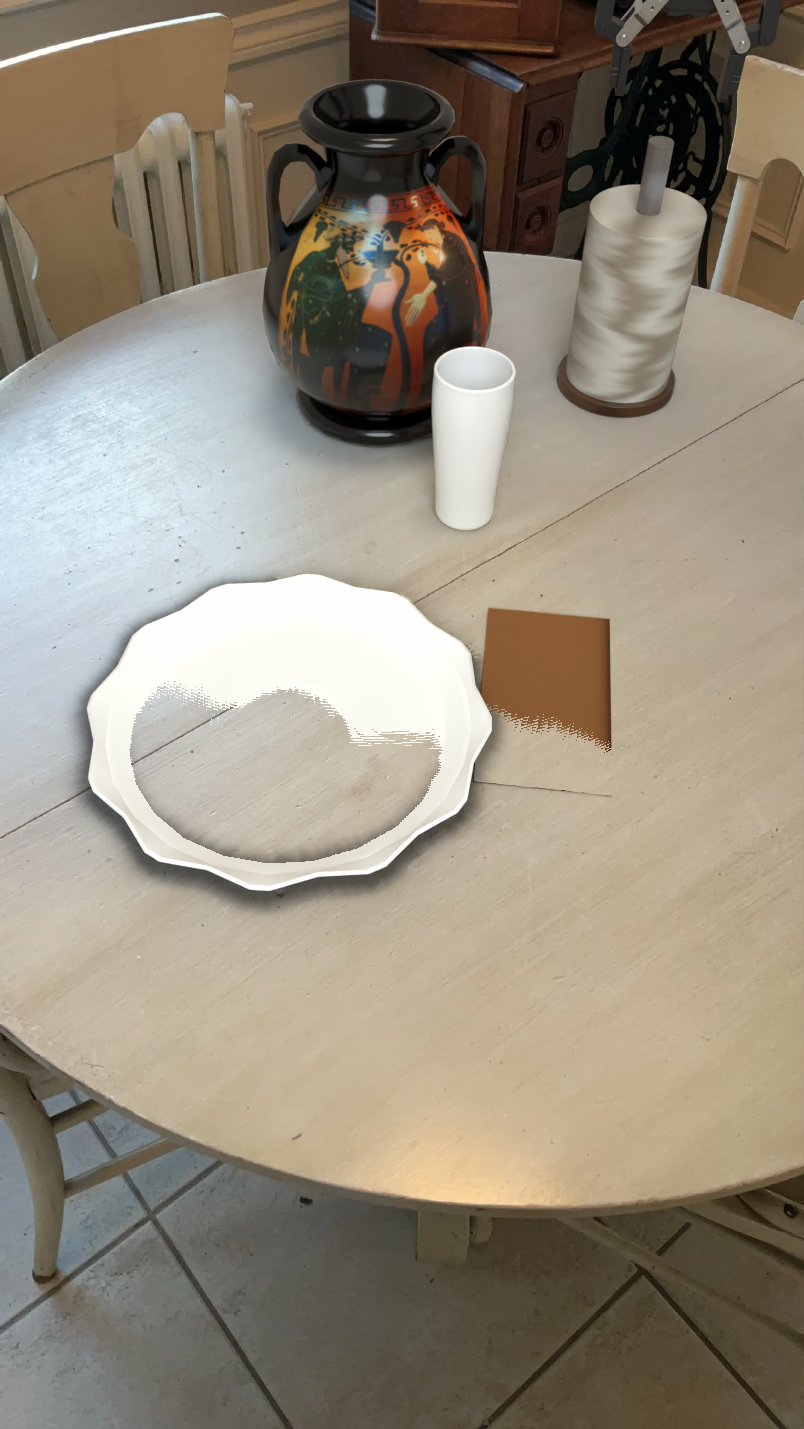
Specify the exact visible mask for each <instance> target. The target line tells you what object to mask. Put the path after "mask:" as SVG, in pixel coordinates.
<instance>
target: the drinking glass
mask: <svg viewBox="0 0 804 1429" xmlns="http://www.w3.org/2000/svg"><path fill="white" fill-rule="evenodd" d="M516 375H517V370H516V365H515V363H514V362H513V361H512V360H511V359H510V358H509V357H508V356H507V355H505V354H504V353H502V352H501V351H498V350H495V349H492V348H489V347H485V348H484V347H461V348H456V349H453V350H450V351H448V352H446V353H444V354H443V355H441V356H440V357H439V358H438V360H437V361H436V363H435V366H434V374H433V384H432V404H431V412H432V434H431V435H432V449H433V463H434V464H433V466H434V467H433V468H434V488H435V500H434V511H435V514H436V517H437V518H438V520H439V521H440V522H441V523H442V524H444V525H445V526H447V527H449V528H451V529H454V530H458V531H473V530H477V529H480V528H482V527H484V526H485V525H487V524H488V523H489V522H490V521H491V519H492V517H493V515H494V511H495V504H496V503H495V502H496V495H497V491H498V485H499V480H500V476H501V471H502V466H503V461H504V457H505V452H506V446H507V444H508V437H509V434H510V428H511V423H512V417H513V410H514V403H515V392H516V378H517V377H516Z"/></svg>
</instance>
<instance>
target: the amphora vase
mask: <svg viewBox="0 0 804 1429" xmlns="http://www.w3.org/2000/svg"><path fill="white" fill-rule="evenodd" d="M297 121H298V125H299V127H300V129H301V131H302V133H303V134H304V135H305V136H307V137H308V138H309V139H310V140H311V141H312V142H314V143H316V144H317V145H320V146H322V147H323V153H324V157H325V159H324V158H323V157H322V156H321V154H319V153H318V152H317V151H316V150H314V149H313V148H312V147H310V146H309V145H308V144H306V143H303V142H302V143H301V142H297V141H295V142H286V143H285V144H283V145H281V146H280V147H278V148H277V149H275V150H274V152H273V154H272V157H271V159H270V162H269V163H268V166H267V168H266V174H265V202H266V203H265V204H266V217H267V218H266V219H267V232H268V246H269V258H270V259H269V262H268V265H267V267H266V272H265V276H264V277H265V278H264V283H263V295H262V307H261V308H262V309H261V311H262V317H263V325H264V332H265V335H266V339H267V342H268V345H269V348H270V350H271V353H272V354H273V357H274V359H275V360H276V362H277V365H278V366H279V367H280V368H281V370H282V371H283V372H284V373H285V374H286V376H287V377H288V378H289V379H290V380H291V381H292V382H293V383H294V384H295V385H296V390H295V391H296V392H295V398H296V402H297V406H298V408H299V411H300V414H301V415H302V416H303V417H304V418H305V419H306V421H308V423H309V424H310V425H311V426H312V427H313V428H315V429H316V430H318V431H320V432H321V433H323V434H324V435H326V436H327V437H329V438H331V439H333V440H334V439H335V440H336V441H340V442H343V443H346V444H350V445H356V446H361V447H375V448H376V447H378V448H379V447H381V448H382V447H383V448H389V447H395V446H403V445H408V444H411V443H414V442H416V441H420V440H423V439H425V438H428V437H429V436H432V435H433V434H432V412H431V404H432V384H433V374H434V366H435V363H436V361H437V360H438V358H439V357H440V356H441V355H443V354H444V353H446V352H448V351H450V350H453V349H456V348H461V347H484V348H486V346H487V343H488V341H489V338H490V334H491V325H492V320H493V319H492V318H493V304H492V293H491V283H490V271H489V267H488V264H487V260H486V256H485V252H484V249H483V247H484V233H485V232H484V231H485V216H486V201H487V200H486V199H487V189H488V188H487V162H486V160H485V158H484V155H483V153H482V151H481V148H480V146H479V144H478V143H477V142H476V141H474V140H472V139H471V138H470V137H468V136H466V135H452V136H449V135H450V134H451V133H452V131H453V129H454V128H455V124H456V112H455V109H454V108H453V106H452V105H451V103H450V101H448V100H447V99H446V98H445V97H444V96H442V95H441V94H439V93H438V92H437V91H435V90H433V89H430V88H428V87H425V86H423V85H420V84H416V83H411V82H407V81H401V80H393V79H377V78H373V79H372V78H371V79H370V78H369V79H357V80H356V79H355V80H348V81H344V82H339V83H335V84H332V85H328V86H326V87H322V88H321V89H319V90H317V91H316V92H314V93H312V94H310V95H309V96H308V97H307V98H306V99H305V100H304V101H303V103H302V104H301V105H300V107H299V110H298V116H297ZM448 136H449V137H448ZM434 146H435V147H434ZM431 147H434V148H433V149H432V150H431ZM456 155H457V156H464V157H466V158H467V159H468V160H469V163H470V168H471V179H472V184H471V185H472V186H471V194H470V200H469V207H468V211H467V213H466V215H465V216H464V214H463V213H462V212H461V211H460V209H459V208H458V206H456V204H455V203H454V201H453V200H452V198H451V197H450V196H449V195H448V194H447V192H446V191H445V190H444V189H443V188H442V186H440V184H439V178H440V172H441V168H442V167H443V165H444V164H445V163H446V162H447V161H448V160H449V159H450V157H453V156H456ZM297 162H301V163H305V164H306V165H307V166H308V167H309V168H310V170H312V171H313V175H314V181H315V184H314V185H313V186H312V187H311V188H310V189H309V191H308V192H307V193H306V194H305V196H303V198H302V199H301V200H300V201H299V202H298V204H296V206H295V207H294V208H293V209H292V212H291V213H290V214H289V216H288V218H287V220H286V221H284V220H283V217H282V211H281V205H280V204H281V202H280V190H281V181H282V176H283V174H284V172H285V169H286V168H287V167H288V166H289V165H290V164H291V163H297Z"/></svg>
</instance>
